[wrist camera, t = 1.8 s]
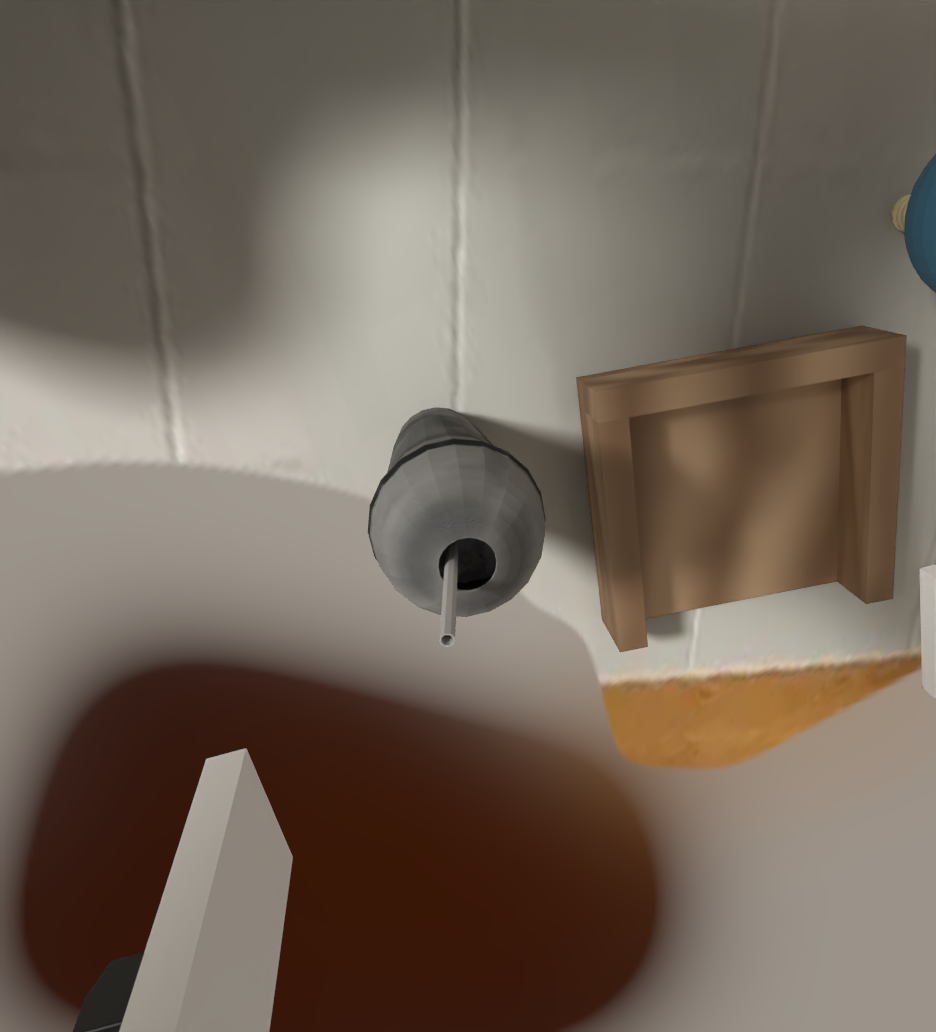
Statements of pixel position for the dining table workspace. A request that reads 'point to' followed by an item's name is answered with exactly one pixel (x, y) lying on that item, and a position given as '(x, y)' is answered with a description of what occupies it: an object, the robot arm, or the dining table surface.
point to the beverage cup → (455, 519)
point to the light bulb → (920, 224)
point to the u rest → (744, 474)
